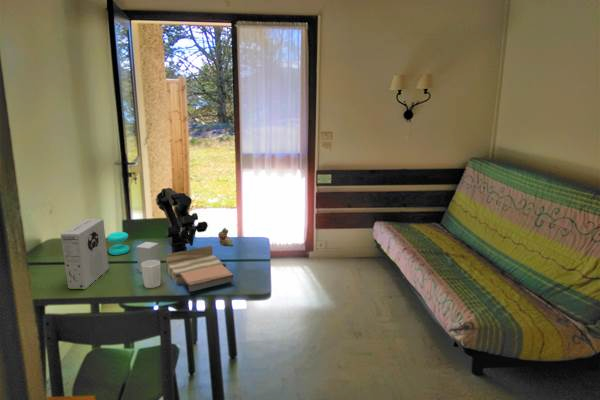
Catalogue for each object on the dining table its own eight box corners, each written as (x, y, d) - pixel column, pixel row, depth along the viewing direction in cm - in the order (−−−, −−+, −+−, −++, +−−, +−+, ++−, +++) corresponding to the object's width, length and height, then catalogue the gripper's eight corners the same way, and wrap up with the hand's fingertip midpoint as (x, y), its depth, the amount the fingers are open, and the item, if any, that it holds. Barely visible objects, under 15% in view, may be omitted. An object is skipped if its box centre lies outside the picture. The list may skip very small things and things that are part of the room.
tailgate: (180, 273, 186) (190, 284, 175) (221, 264, 196) (233, 274, 185) (180, 279, 187) (190, 291, 176) (221, 270, 196) (233, 281, 186)
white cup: (145, 281, 190) (143, 260, 188) (163, 280, 191) (162, 259, 188) (140, 289, 182) (138, 267, 180) (159, 288, 183) (157, 266, 181)
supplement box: (161, 268, 204) (159, 242, 201) (151, 274, 197) (149, 248, 194) (148, 265, 206) (146, 241, 203) (138, 271, 200) (135, 246, 196)
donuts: (105, 233, 222) (125, 229, 228) (107, 251, 225) (127, 247, 230) (109, 238, 214) (130, 235, 220) (111, 257, 217) (131, 253, 222)
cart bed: (166, 271, 200) (164, 254, 198) (212, 261, 212) (211, 245, 209) (177, 286, 185) (175, 267, 183) (226, 274, 197) (225, 257, 195)
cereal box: (93, 269, 202) (87, 218, 196) (109, 269, 202) (103, 218, 196) (68, 290, 181) (60, 233, 175) (85, 290, 181) (78, 234, 175)
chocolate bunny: (226, 241, 240) (225, 224, 237) (234, 245, 234) (233, 227, 232) (217, 243, 236) (217, 226, 234) (225, 247, 231) (224, 230, 228)
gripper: (165, 210, 194) (174, 241, 188) (205, 205, 204) (215, 233, 197) (162, 222, 202) (170, 252, 196) (200, 216, 212) (209, 244, 206)
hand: (191, 245), depth 199 cm, fingers closed
